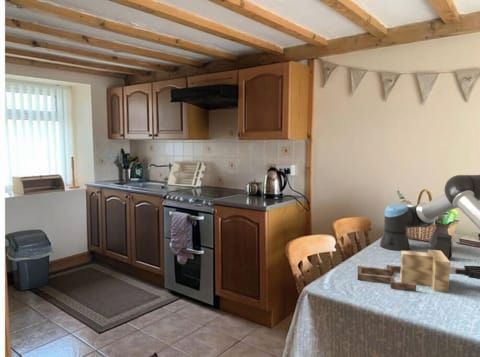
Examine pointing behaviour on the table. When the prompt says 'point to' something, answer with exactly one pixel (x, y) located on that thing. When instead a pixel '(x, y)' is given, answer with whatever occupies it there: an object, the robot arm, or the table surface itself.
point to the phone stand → (444, 244)
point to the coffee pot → (439, 229)
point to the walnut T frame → (384, 277)
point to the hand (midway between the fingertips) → (445, 269)
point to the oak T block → (426, 269)
